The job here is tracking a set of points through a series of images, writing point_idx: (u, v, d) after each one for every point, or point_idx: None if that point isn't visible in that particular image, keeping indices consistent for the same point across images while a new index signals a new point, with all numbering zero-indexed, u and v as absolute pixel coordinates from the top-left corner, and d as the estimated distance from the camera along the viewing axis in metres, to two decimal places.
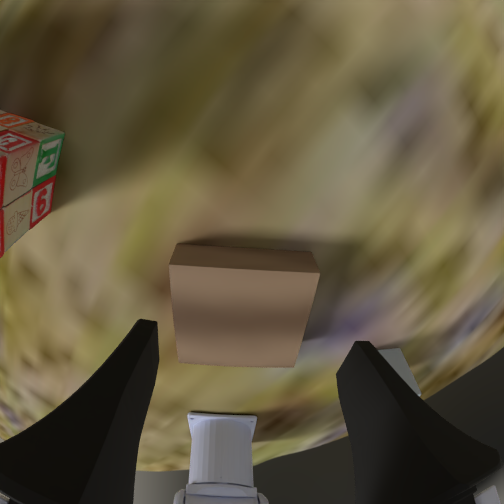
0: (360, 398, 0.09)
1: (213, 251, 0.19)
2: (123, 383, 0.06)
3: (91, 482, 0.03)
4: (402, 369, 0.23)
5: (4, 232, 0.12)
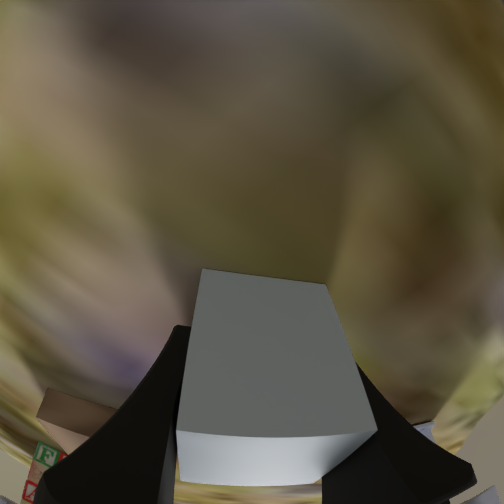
0: None
1: None
2: (173, 393, 0.06)
3: (157, 499, 0.03)
4: None
5: None
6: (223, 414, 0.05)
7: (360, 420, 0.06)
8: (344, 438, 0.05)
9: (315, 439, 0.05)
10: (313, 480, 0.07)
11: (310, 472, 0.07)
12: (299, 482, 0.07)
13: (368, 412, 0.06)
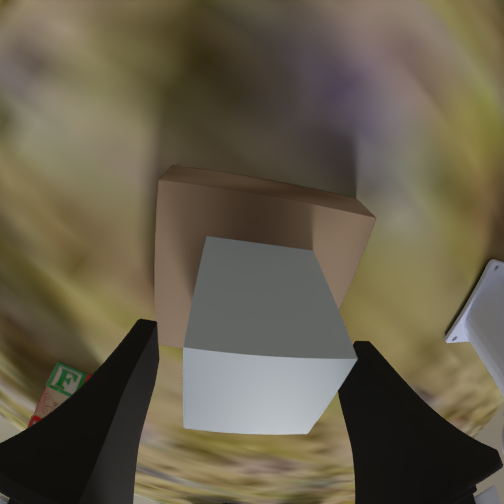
0: (361, 399, 0.09)
1: None
2: (123, 383, 0.06)
3: (91, 482, 0.03)
4: None
5: None
6: (223, 336, 0.07)
7: (341, 349, 0.07)
8: (328, 366, 0.07)
9: (302, 361, 0.07)
10: (307, 429, 0.09)
11: (302, 414, 0.08)
12: (293, 430, 0.09)
13: (348, 344, 0.08)
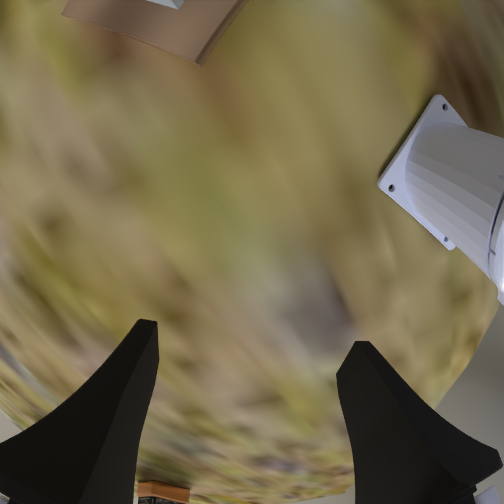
0: (361, 398, 0.09)
1: None
2: (123, 383, 0.06)
3: (91, 482, 0.03)
4: None
5: None
6: None
7: None
8: None
9: None
10: None
11: None
12: None
13: None
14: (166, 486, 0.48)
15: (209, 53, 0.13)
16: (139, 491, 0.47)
